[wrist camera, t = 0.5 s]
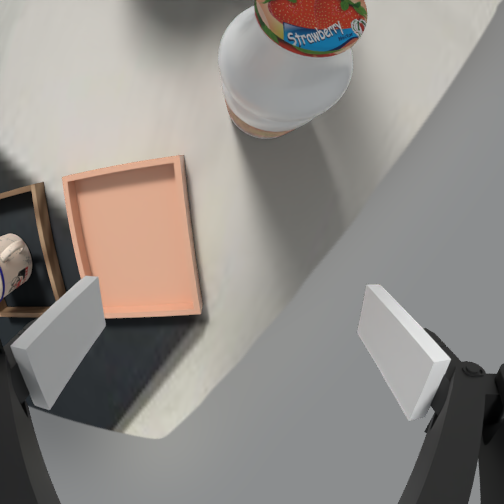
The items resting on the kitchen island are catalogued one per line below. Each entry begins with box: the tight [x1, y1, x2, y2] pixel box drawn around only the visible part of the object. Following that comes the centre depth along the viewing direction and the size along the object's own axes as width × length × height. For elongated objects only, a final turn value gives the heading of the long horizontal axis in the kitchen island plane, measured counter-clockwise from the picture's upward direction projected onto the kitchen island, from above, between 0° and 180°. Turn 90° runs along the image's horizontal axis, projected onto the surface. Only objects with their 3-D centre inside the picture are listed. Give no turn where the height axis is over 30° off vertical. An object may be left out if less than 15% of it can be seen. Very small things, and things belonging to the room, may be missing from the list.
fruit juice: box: [218, 0, 367, 139], centre depth 23 cm, size 9×9×28 cm
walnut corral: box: [0, 182, 66, 317], centre depth 39 cm, size 21×17×2 cm
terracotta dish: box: [62, 155, 203, 318], centre depth 39 cm, size 21×17×3 cm
